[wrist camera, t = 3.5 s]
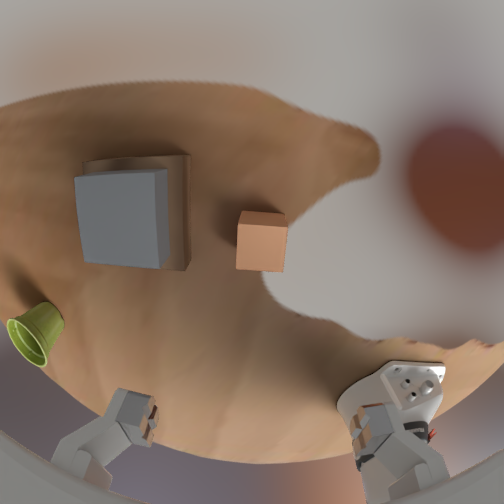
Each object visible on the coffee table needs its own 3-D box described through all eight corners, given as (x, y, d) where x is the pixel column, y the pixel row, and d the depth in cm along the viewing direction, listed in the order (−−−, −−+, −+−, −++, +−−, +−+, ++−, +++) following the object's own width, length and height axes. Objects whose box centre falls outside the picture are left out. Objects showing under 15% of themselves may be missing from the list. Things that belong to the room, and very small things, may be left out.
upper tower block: (167, 168, 24) (154, 172, 21) (170, 254, 28) (159, 269, 25) (92, 172, 25) (74, 177, 21) (100, 249, 28) (84, 262, 25)
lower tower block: (191, 154, 27) (182, 156, 24) (192, 258, 32) (184, 270, 29) (98, 159, 27) (82, 162, 24) (106, 251, 32) (93, 262, 29)
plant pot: (33, 316, 37) (8, 343, 29) (35, 282, 34) (4, 308, 26) (69, 345, 39) (46, 375, 31) (74, 313, 36) (46, 345, 28)
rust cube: (283, 213, 29) (288, 227, 24) (279, 252, 31) (282, 272, 26) (241, 210, 29) (238, 223, 24) (239, 249, 31) (235, 269, 26)
